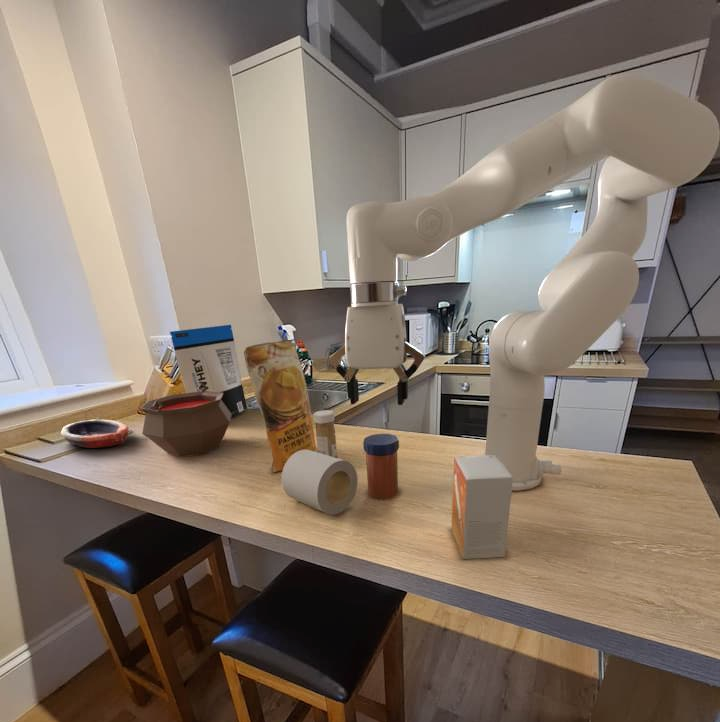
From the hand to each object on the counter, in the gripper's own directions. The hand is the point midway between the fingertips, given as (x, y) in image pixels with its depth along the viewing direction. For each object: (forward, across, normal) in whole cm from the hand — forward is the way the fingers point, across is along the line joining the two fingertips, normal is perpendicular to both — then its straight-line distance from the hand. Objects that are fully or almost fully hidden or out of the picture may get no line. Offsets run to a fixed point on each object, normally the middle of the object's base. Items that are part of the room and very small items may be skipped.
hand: (377, 402), depth 71 cm
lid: (+7, 0, 0) cm, 7 cm away
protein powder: (+19, +70, -50) cm, 88 cm away
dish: (+19, +96, -22) cm, 101 cm away
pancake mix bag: (+19, +26, -14) cm, 35 cm away
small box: (+18, -18, +15) cm, 30 cm away
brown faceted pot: (+19, +58, -20) cm, 65 cm away
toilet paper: (+18, +10, +6) cm, 22 cm away
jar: (+18, 0, 0) cm, 18 cm away
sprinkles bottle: (+18, +14, -10) cm, 26 cm away
